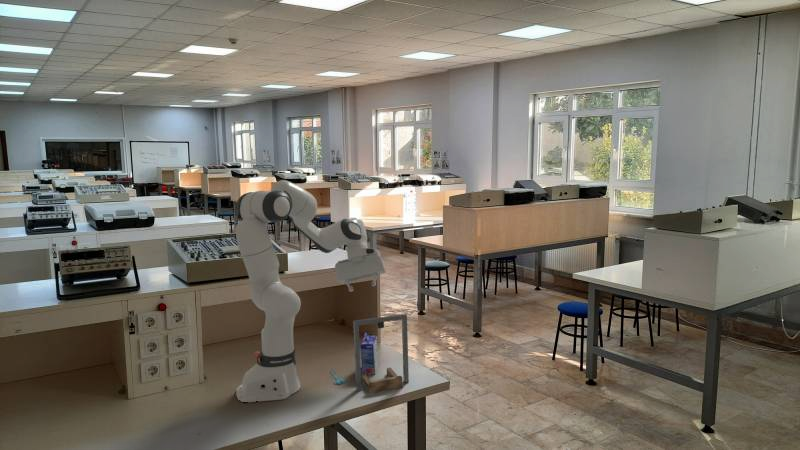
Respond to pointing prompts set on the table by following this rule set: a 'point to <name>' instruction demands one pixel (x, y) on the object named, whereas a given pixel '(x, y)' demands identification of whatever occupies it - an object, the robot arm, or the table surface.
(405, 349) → the scanner arch
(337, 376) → the adjustable wrench
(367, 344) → the ink cartridge box
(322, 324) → the table surface
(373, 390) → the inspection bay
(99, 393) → the table surface
